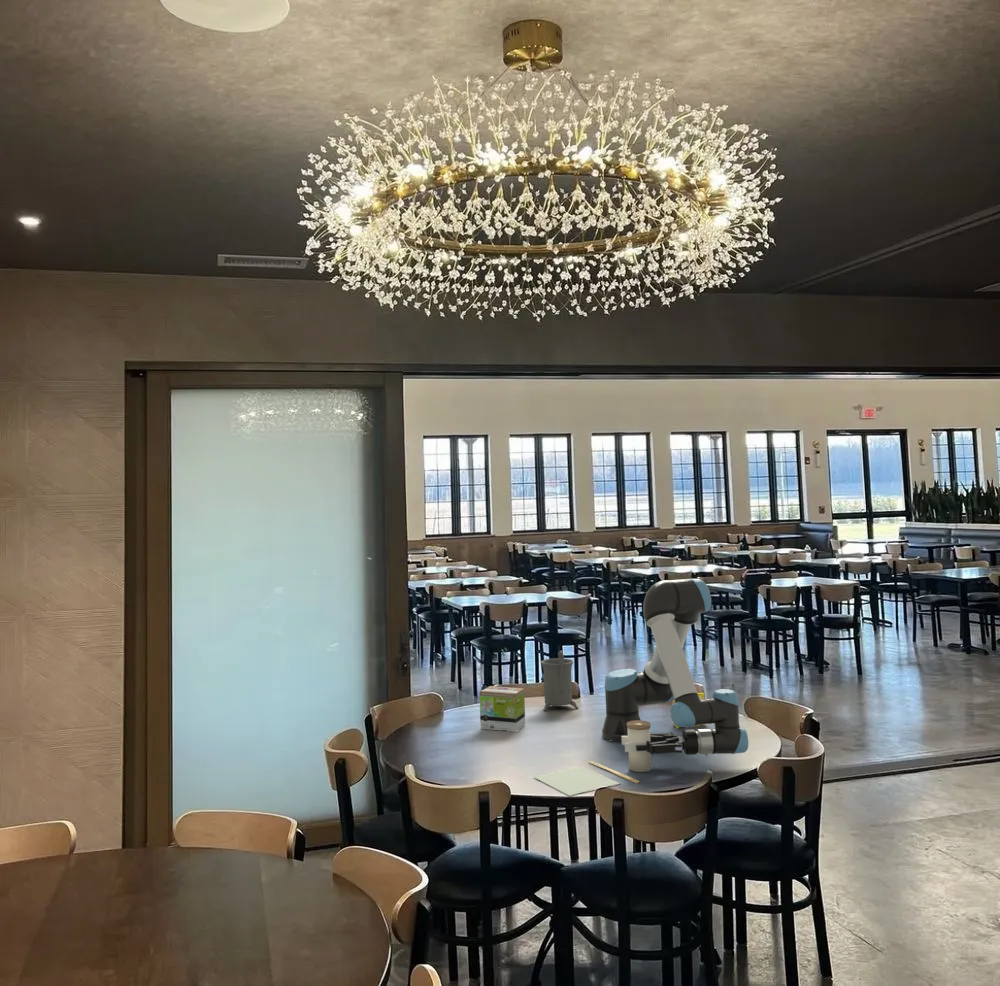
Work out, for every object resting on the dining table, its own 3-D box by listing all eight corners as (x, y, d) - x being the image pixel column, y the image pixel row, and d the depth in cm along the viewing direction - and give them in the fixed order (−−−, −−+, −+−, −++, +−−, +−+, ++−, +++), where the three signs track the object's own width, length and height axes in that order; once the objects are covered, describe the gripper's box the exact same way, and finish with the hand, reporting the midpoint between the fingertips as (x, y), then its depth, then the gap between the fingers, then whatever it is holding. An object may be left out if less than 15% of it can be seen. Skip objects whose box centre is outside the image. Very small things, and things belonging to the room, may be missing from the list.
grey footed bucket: (537, 704, 341) (534, 646, 342) (570, 702, 344) (568, 643, 344) (547, 715, 323) (544, 652, 323) (582, 712, 325) (580, 650, 326)
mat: (533, 777, 245) (533, 776, 245) (581, 767, 254) (581, 766, 254) (569, 796, 228) (569, 795, 228) (620, 784, 236) (620, 783, 236)
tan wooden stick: (588, 763, 258) (588, 761, 258) (592, 762, 258) (592, 761, 259) (635, 783, 237) (635, 782, 237) (639, 782, 237) (639, 781, 238)
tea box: (479, 730, 303) (478, 690, 304) (490, 723, 313) (488, 685, 313) (516, 732, 298) (515, 692, 298) (526, 725, 307) (524, 687, 308)
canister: (623, 767, 252) (621, 722, 252) (642, 763, 255) (640, 719, 256) (638, 773, 245) (636, 727, 246) (657, 769, 249) (655, 724, 249)
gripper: (704, 763, 240) (628, 765, 241) (690, 744, 260) (619, 746, 260) (703, 738, 240) (627, 740, 241) (689, 721, 260) (618, 723, 261)
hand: (623, 743), depth 251 cm, fingers closed on canister, 7 cm apart
